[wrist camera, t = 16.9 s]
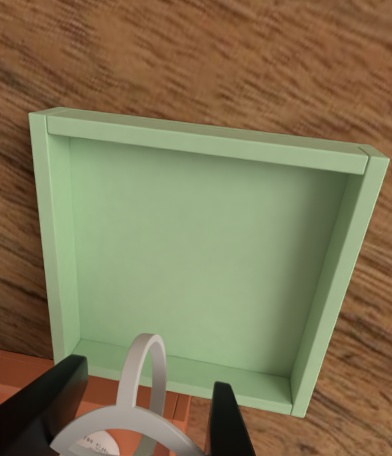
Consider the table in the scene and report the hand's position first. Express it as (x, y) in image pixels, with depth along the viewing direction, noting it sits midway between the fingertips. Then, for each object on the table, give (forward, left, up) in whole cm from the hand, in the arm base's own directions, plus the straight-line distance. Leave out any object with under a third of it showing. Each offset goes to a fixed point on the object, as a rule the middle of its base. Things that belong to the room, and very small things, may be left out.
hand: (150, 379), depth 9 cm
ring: (0, 0, -1) cm, 1 cm away
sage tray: (0, 0, -6) cm, 6 cm away
